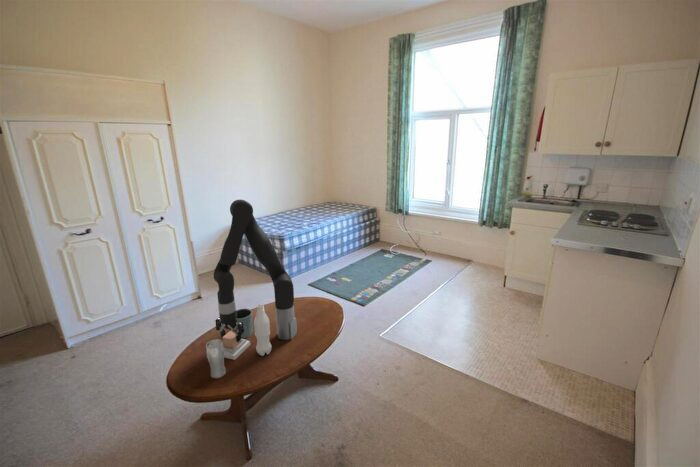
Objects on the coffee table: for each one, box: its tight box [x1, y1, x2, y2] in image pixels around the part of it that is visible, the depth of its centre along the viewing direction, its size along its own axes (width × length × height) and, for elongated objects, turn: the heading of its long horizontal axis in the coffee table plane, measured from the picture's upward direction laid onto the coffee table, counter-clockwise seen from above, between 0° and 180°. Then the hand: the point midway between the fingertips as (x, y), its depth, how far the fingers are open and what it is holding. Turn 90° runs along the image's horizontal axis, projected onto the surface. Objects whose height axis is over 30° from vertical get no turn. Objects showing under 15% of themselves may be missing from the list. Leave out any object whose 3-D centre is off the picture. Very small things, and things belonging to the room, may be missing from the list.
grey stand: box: [224, 338, 251, 361], centre depth 154 cm, size 12×12×4 cm
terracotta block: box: [221, 330, 240, 349], centre depth 153 cm, size 6×6×6 cm
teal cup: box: [234, 308, 254, 339], centre depth 165 cm, size 10×10×12 cm
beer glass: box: [205, 338, 227, 379], centre depth 136 cm, size 7×7×15 cm
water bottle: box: [253, 303, 272, 357], centre depth 148 cm, size 7×7×25 cm
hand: (231, 339), depth 152 cm, fingers open, 8 cm apart
